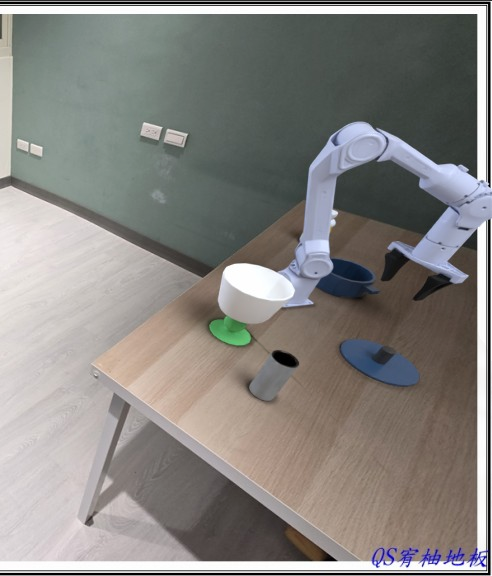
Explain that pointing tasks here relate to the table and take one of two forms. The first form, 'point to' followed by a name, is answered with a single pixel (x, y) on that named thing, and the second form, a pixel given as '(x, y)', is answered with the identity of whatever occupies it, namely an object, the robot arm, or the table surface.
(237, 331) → the cup
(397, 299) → the table surface
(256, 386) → the planter
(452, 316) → the table surface
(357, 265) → the pan
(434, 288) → the robot arm
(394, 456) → the table surface
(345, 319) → the table surface
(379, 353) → the lid
